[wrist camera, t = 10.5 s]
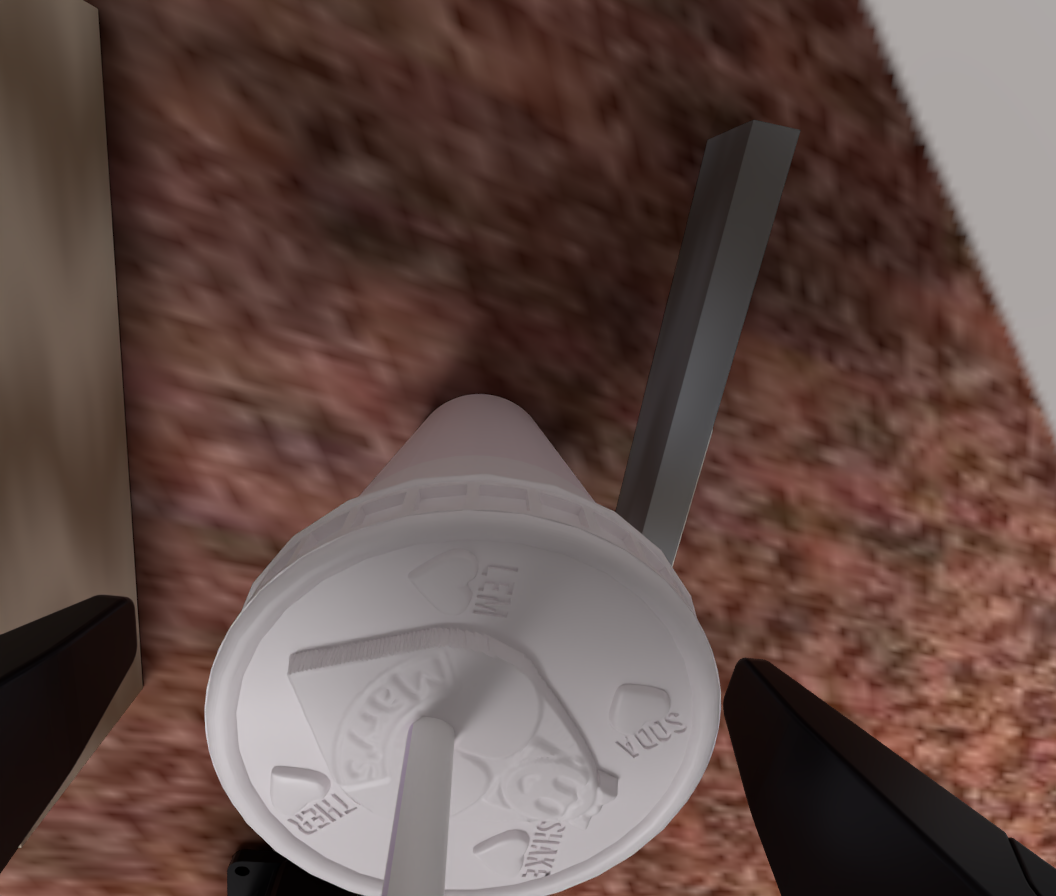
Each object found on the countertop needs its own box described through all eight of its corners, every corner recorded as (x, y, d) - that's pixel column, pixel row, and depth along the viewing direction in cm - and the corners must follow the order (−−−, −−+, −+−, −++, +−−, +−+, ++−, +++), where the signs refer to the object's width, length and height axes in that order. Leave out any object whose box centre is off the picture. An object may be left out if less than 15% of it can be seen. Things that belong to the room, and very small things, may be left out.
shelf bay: (600, 725, 20) (635, 876, 15) (101, 684, 18) (-36, 844, 13) (758, 150, 14) (898, 106, 9) (35, -5, 12) (-261, -163, 7)
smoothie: (442, 294, 14) (7, 856, 1) (639, 426, 16) (1321, 1278, 3) (322, 489, 16) (-417, 1615, 3) (511, 592, 18) (582, 1623, 5)
